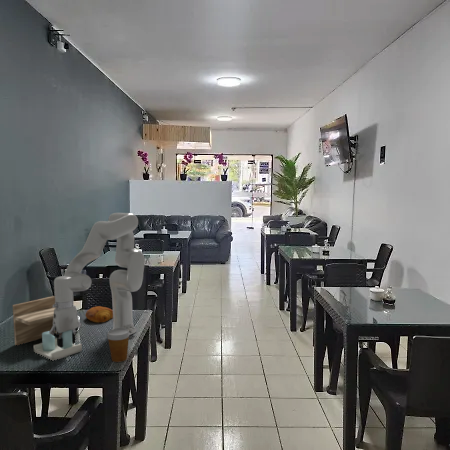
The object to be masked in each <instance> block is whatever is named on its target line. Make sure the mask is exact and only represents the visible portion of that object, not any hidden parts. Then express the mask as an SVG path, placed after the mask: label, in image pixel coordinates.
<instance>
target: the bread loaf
mask: <svg viewBox="0 0 450 450" xmlns="http://www.w3.org/2000/svg"><path fill="white" fill-rule="evenodd" d="M85 318H87V320H89V321H90V322H93V323H105V322H108V321H110V320H113V309H111V308H109V307H106V306H99V305H98V306H93V307H91V308H89V309H87V310H86V312H85Z"/></svg>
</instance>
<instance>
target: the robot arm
mask: <svg viewBox="0 0 450 450" xmlns="http://www.w3.org/2000/svg"><path fill="white" fill-rule="evenodd" d="M138 225H139V218H138V217H137V215H136V214H134V213H132V212H114V213H113V212H112V213H111V214H110V215H109V216H108V220H99V221H96V222H95V223H94V224H93V225H92V227H91V228H90V229H91V230H90V231H89V234H88V236H87V238H86V240H85V243H84V245H83V248H82V249H81V250H80V251H79V252H78V253H76V255H75V256H74V257H73V258H72V259H71V260H70V262H69V264H68V265H67V267H66V269H65V272H64V275H62V276H61V275H60V276H56V277H55V278H54V280H53V286H54V297H55V304H54V305H53V308H54V307H55V309H54V313H53V327H52V328H51V330H50V332H49V333H50V334H51V335H53V336H55V339H56V338H57V345H58V346H59V347H63V339H62V338H61V336H62V332H66V331H69V330H72V341H73V344H74V345H75V343H76V334H77V332H78V331H79V329H80V327H81V326H82V323H81V322H80V321H79V316H78V310H77V305H74V292H84V291H87V290H89V288H91V286H92V284H93V283H92V282H93V281H92V278H91V277H90V276H89V275H88V274H85V273H81V272H82V271H83V269H84V268H85V266H86V265H87V264H89V263H91V262H93V261H94V260H96V259H99V258H100V257H101V255H102V253H103V250H104V248H105V246H106V243H107V241H108V240H110V241H114V240H116V249H115V256H114V262H115V264H116V265H117V266H118V267H120V268H126V269H127V270H126V269H117V270H116V269H115V270H114V271H113V272H111V273H110V275H109V286H110V291H111V298H112V299H111V300H112V310H113V318H112V321H113V323H112V324H113V325H112V326H113V327H112V329H111V330H113V329H118V328H124V329H128V330H129V333H130V335H129V336H131V335H133V334H135V333H136V332H137V330H138V329H137V327H135V324H134V321H133V296H132V293H133V292H138V290H140V289H141V287H142V284H143V280H144V270H145V264H146V263H145V260H146V259H145V255H144V254H143V252H142V251H141V250H139V249H135V233H134V232H133V231H135V230H136V229H137V227H138ZM54 331H57V332H56V333H55V332H54Z"/></svg>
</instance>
